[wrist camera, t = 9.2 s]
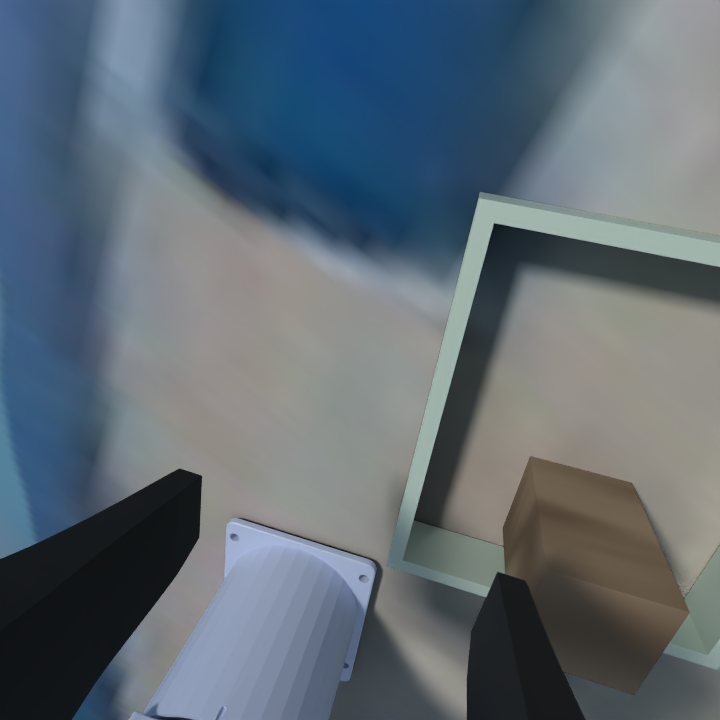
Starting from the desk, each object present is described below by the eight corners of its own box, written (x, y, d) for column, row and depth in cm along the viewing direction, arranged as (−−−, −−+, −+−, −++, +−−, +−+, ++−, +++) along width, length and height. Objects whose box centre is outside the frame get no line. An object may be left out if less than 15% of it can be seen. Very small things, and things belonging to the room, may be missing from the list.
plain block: (595, 554, 21) (633, 694, 15) (502, 527, 21) (508, 653, 16) (632, 482, 19) (690, 612, 14) (530, 455, 19) (547, 570, 14)
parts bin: (691, 614, 20) (717, 670, 18) (396, 525, 22) (386, 566, 20) (925, 274, 14) (1008, 297, 12) (480, 191, 16) (479, 198, 14)
